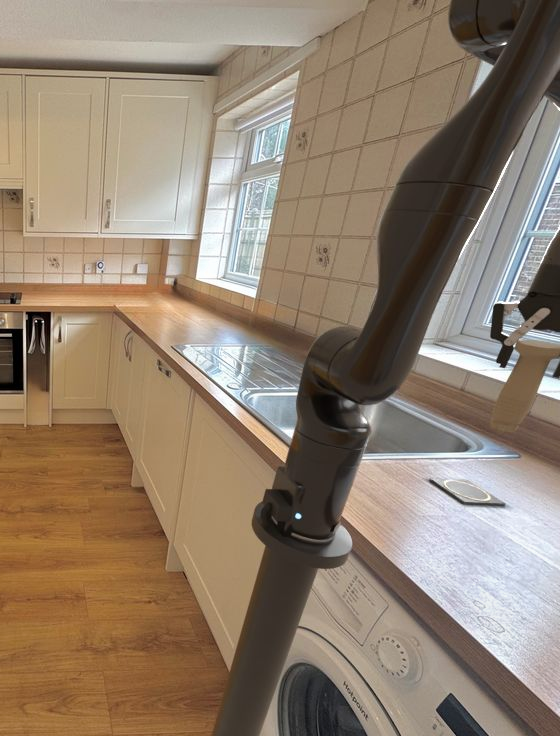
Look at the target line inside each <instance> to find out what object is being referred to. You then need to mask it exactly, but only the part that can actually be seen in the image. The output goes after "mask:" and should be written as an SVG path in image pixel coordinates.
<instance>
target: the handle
mask: <svg viewBox="0 0 560 736" xmlns="http://www.w3.org/2000/svg"><path fill="white" fill-rule="evenodd" d="M514 345H515V348H514V351H516V353H518V354H519V356H518V359H517V361H516V362H515V365H514V366H513V368H512V370H511V372H510V374H509V375H508V378H507V379H506V380H505V383H504V385H503V387H502V389H501V390H500V392H499V394H498V396H497V399H496V401H495V404H494V406H493V410H492V412H491V418H490V419H489V424H488V425H489V426H490V428H491V429H493V430H496V431H499V432H502V433H515V432H517V430H518V428H519V427H520V426H519V425H520V424H521V423H522V422H523V421H524V420H525V418H526V416H527V415H528V413H529V412H530V409H531V408H532V405H533V404H534V402H535V399H536V396H537V394H538V391H539V390H540V389H539V388H540V387H541V384H542V381H543V378H544V377H545V374H546V372H547V369H548V366H549V365H550V364H551V363H550V362H551V361H552V360H556V359H560V343H555V342H551V341H545V340H536V339H519V340H518V341H517V342H516V343H515V344H514Z"/></svg>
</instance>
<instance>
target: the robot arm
mask: <svg viewBox="0 0 560 736" xmlns="http://www.w3.org/2000/svg"><path fill="white" fill-rule="evenodd" d="M447 26H448V31H449V35H450V36H451V38H452V40H453V42H454V43H455V44H456V45H457V46H458V47H459V48H460V49H462V50H463V51H464V52H466V53H468V54H469V55H471V56H473V57H475V58H477V59H478V60H481V61H483V62H485V63H487V64H488V65H491V66H492V68H491V69H490V71H489V73H488V74H487V75H486V77H485V79H484V80H483V81H482V83H481V84H480V85H479V87H478V88H476V90H475V91H474V93H472V95H471V96H470V97H469V98H468V100H467V101H465V103H464V104H463V105H462V106H461V107H460V108H459V109H458V110H457V111H456V112H455V113H454V114H453V115H452V116H451V117H450V118H449V119H448V120H447V121H446V122H445V123H444V124H443V125H442V126H441V127H440V128H439V129H438V130H437V131H436V132H434V134H433V135H432V136H431V137H430V138H429V139H428V140H427V141H426V142H425V143H424V144H423V145H422V146H421V148H419V149H418V151H417V152H416V153H415V154H414V155H413V156H412V157H411V159H410V160H409V161H408V162H407V163H406V164H405V166H404V167H403V169H402V171H401V172H400V174H399V176H398V178H397V179H396V181H395V184H394V187H393V188H392V191H391V193H390V195H389V197H388V200H387V202H386V204H385V206H384V209H383V212H382V214H381V216H380V219H379V222H378V225H377V229H376V235H375V236H376V237H375V252H376V254H375V255H376V267H377V269H376V270H377V285H376V294H375V296H374V297H375V298H374V301H373V304H372V307H371V309H370V312H369V314H368V316H367V319H366V320H365V322H364V325H363V327H362V329H360V328H356V327H353V326H344V325H343V326H341V325H340V326H336V327H332V328H330V329H328V330H325V331H324V332H323V333H321V334H320V335H319V336H318V337H317V338H316V339H315V340H314V341H313V342H312V344H311V346H310V348H309V349H308V351H307V354H306V356H305V359H304V363H303V367H302V370H301V375H300V379H299V384H298V389H297V394H296V399H295V411H296V421H295V427H294V430H293V434H292V437H291V441H290V444H289V447H288V450H287V454H286V457H285V460H284V461H285V462H284V465H279V466H278V467H277V468H276V472H275V475H274V479H273V483H272V486H271V488H265V490H264V494H263V497H262V501H261V502H262V503H263V504H264V507H263V508H262V510H261V520H262V521H263V523H264V524H265V526H266V527H271V526H272V524H271V522H270V521H269V519H268V517H269V518H270V520H271V521H272V523H273V524H274V525H275V527H276V528H277V529H278V531H279V532H280V534H281V535H282V536H283V537H290V538H293V539H295V540H298V541H300V542H303V543H307V544H312V545H326V544H329V543H331V542H332V541H333V540H334V538H335V535H336V530H337V529H338V528H339V526H340V524H341V525H342V521H341V518H342V515H343V513H344V510H345V507H346V504H347V502H348V498H349V496H350V494H351V490H352V488H353V485H354V483H355V479H356V476H357V474H358V471H359V468H360V466H361V462H362V459H363V457H364V454H365V452H366V448H367V445H368V443H369V440H370V438H371V433H372V426H371V424H370V422H369V420H368V419H367V417H366V416H365V414H364V412H363V409H362V408H361V406H374V405H378V404H380V403H384V402H385V401H386V400H389V399H390V398H391V397H393V396H394V395H395V394H396V393H397V392H399V390H400V389H401V388H402V387H403V386H404V384H405V383H406V381H407V379H408V377H410V374H411V372H412V370H413V367H414V365H415V363H416V360H417V358H418V355H419V353H420V349H421V347H422V344H423V342H424V339H425V337H426V334H427V331H428V328H429V326H430V323H431V322H432V321H431V320H432V318H433V315H434V313H435V311H436V308H437V306H438V303H439V301H440V299H441V297H442V294H443V293H444V290H445V289H446V286H447V285H448V282H449V280H450V278H451V276H452V274H453V272H454V269H455V268H456V266H457V264H458V261H459V259H460V257H461V255H462V253H463V251H464V249H465V247H466V245H467V244H468V242H469V240H470V238H471V237H472V235H473V234H474V231H475V229H476V228H477V226H478V225H479V222H480V220H481V219H482V217H483V215H484V212H485V211H486V209H487V207H488V205H489V203H490V201H491V199H492V198H493V196H494V193H495V191H496V190H497V187H498V185H499V183H500V181H501V178H502V177H503V175H504V173H505V170H506V168H507V166H508V164H509V162H510V160H511V158H512V156H513V154H514V152H515V150H516V148H517V147H518V144H520V143H519V142H520V141H521V139H522V138H523V135H524V133H525V132H526V129H527V127H528V126H529V124H530V122H531V120H532V118H533V116H534V115H535V113H536V112H537V110H538V107H539V106H540V104H541V102H542V101H543V99H544V98H546V99H547V100H548V101H549V102H550V103H551V104H552V105H553V106H554V107H555V108H556V109H557V110H558V111H559V112H560V0H450V3H449V7H448V11H447ZM541 259H542V260H541V261H540V263H539V266H538V268H537V270H536V273H535V275H534V277H533V280H532V282H531V284H530V287H529V289H528V291H527V293H526V295H525V296H524V297H523V298H522V299H520V300H519V301H511V302H510V301H509V302H505V301H497V302H496V303H494V304H493V306H492V314H491V324H490V333H489V338H490V339H492V340H494V341H497V342H500V343H501V347H500V350H499V353H498V355H497V356H496V359H495V362H496V364H498V365H499V368H501V369H506V368H507V365H508V364H509V361H510V359H511V356H512V354H513V352H514V351H515V345H516V343H517V341H519V340H521V339H522V338H523V337H524V336H525V335H527V334H528V333H529V332H531V330H537V331H551V332H553V333H559V334H560V225H559V227H558V229H557V231H556V232H555V234H554V236H553V238H552V239H551V240H550V243H549V244H548V246H547V248H546V250H545V252H544V254H543V255H542V258H541ZM517 309H518V311H519V313H520V315H521V317H522V318H523V320H524V321H523V322H522V323H521V324H520V325H519V326H517V327H516V328H515V330H513V331H512V332H511V333H510V334H507V333H505V332H504V321H505V317H507V316H509V315H511V314H512V313H513V311H514V310H517ZM552 378H556V379H560V360H559V361H558V362H557V365H556V367H555V369H554V371H553V373H552ZM267 516H268V517H267Z"/></svg>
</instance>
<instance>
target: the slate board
mask: <svg viewBox="0 0 560 736" xmlns="http://www.w3.org/2000/svg"><path fill="white" fill-rule="evenodd" d="M429 482H431V483H432V484H433V485H435V486H436V487H438V488H440V489H441V490H442V491H444V492H445V493H446V494H448V495H450V496H451V497H453V499H456V500H457V501H459V502H460V503H461V504H463V505H475V506H479V505H480V506H498V507H499V506H501V507H506V503H505V502H504V501H502V500H501V499H500V498H498V497H495V496H494V495H492V494H491V493H490V492H488V491H486V490H484V489H483V488H482V487H480V486H478V485H476V484H475V483H473V482H472V481H470V480H469V479H451V478H429Z"/></svg>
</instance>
